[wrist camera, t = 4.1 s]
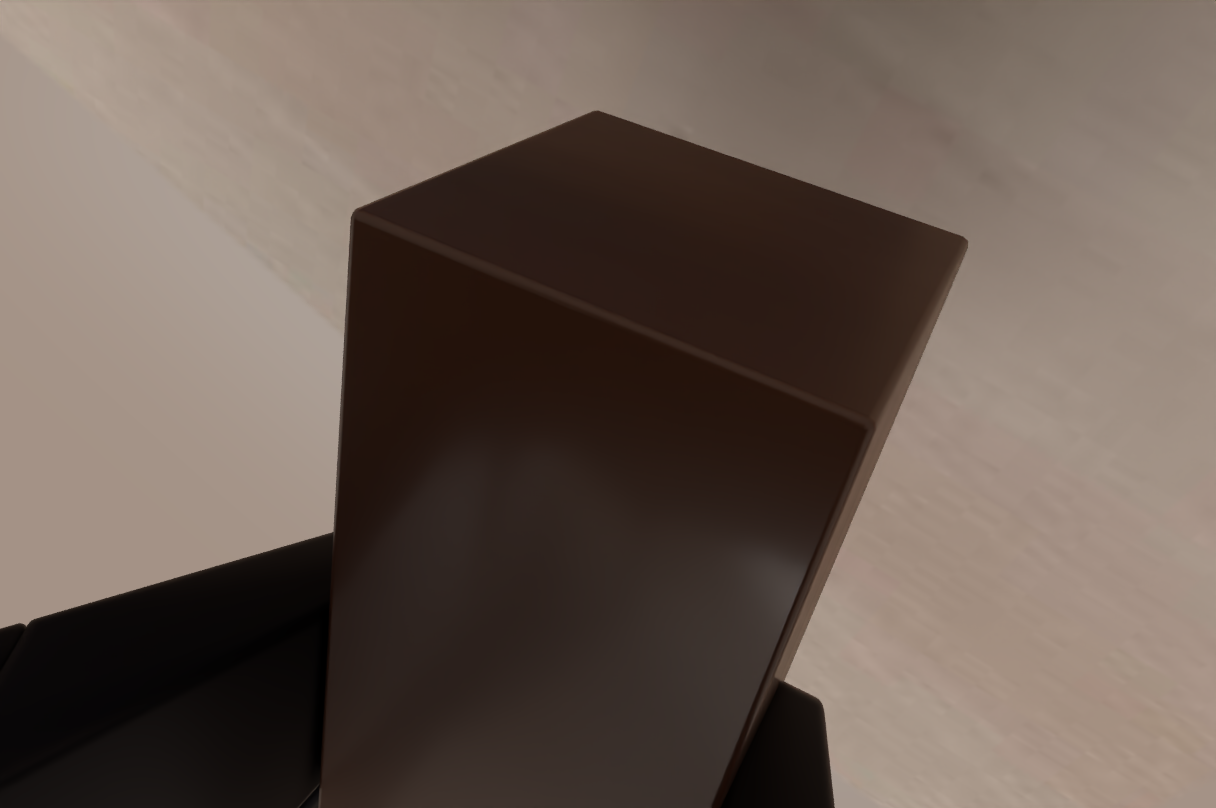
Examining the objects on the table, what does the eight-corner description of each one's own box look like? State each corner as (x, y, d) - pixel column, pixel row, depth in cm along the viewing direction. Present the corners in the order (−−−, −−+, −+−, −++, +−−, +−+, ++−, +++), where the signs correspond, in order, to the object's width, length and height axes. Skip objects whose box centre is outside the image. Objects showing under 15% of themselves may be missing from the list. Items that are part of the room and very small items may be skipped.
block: (697, 883, 11) (575, 1155, 9) (474, 755, 12) (306, 970, 10) (972, 237, 7) (878, 425, 5) (595, 107, 8) (346, 207, 5)
